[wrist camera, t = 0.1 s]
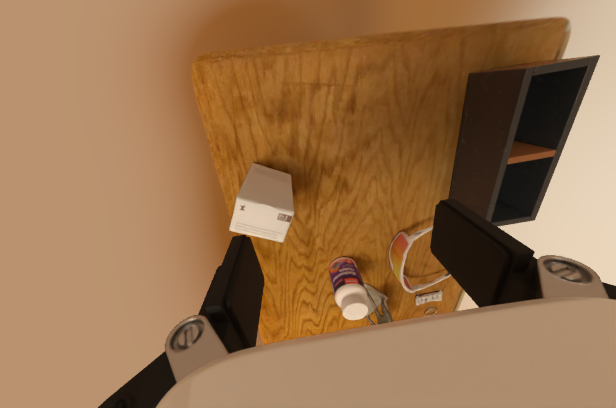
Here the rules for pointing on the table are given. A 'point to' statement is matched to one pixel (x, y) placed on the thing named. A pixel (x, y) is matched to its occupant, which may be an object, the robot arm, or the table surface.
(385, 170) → the table surface
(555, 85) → the caddy
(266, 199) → the cosmetic box
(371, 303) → the figurine
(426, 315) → the ring
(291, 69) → the table surface
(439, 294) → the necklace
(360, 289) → the pill bottle
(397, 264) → the sunglasses
